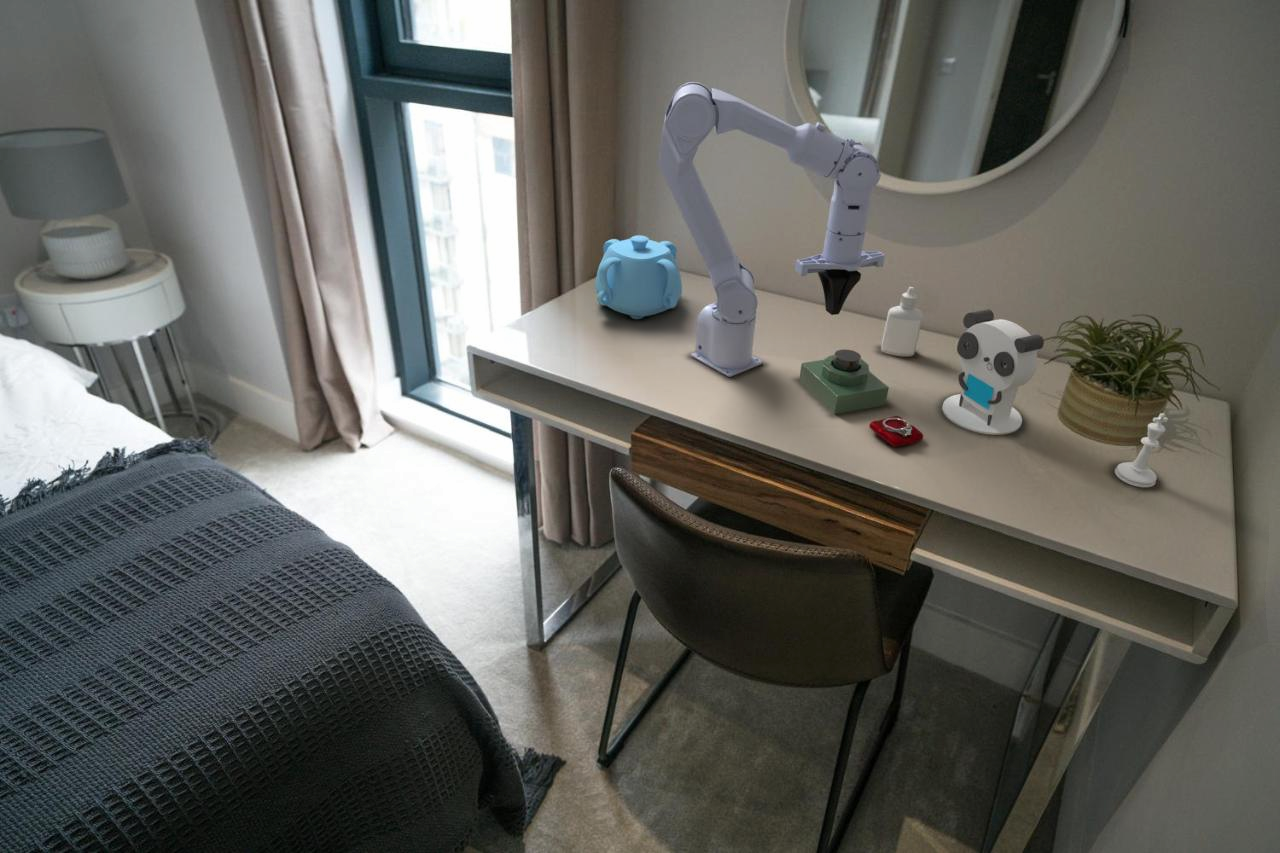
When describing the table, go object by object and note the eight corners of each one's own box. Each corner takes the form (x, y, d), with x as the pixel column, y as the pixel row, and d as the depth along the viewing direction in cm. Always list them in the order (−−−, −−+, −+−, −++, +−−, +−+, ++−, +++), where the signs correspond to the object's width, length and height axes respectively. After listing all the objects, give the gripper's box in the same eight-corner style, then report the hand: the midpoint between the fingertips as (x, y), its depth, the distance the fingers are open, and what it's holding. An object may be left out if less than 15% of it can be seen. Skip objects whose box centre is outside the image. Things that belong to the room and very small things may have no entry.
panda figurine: (923, 401, 123) (945, 313, 114) (979, 388, 126) (1004, 301, 118) (979, 441, 113) (1007, 348, 105) (1038, 425, 117) (1069, 334, 109)
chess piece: (1107, 466, 109) (1133, 404, 103) (1140, 465, 109) (1168, 403, 104) (1128, 488, 105) (1156, 425, 99) (1163, 487, 105) (1193, 423, 100)
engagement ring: (893, 452, 111) (897, 435, 109) (865, 431, 115) (868, 415, 113) (924, 442, 113) (928, 426, 111) (895, 422, 117) (899, 406, 116)
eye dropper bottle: (905, 361, 134) (920, 296, 127) (876, 350, 137) (889, 286, 130) (918, 353, 136) (933, 288, 130) (888, 342, 140) (902, 279, 133)
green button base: (798, 380, 128) (802, 352, 125) (847, 372, 130) (852, 345, 127) (834, 414, 119) (839, 385, 116) (885, 405, 121) (891, 377, 119)
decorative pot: (587, 320, 145) (585, 249, 138) (604, 286, 159) (604, 220, 151) (674, 328, 143) (678, 256, 136) (684, 293, 157) (688, 226, 149)
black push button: (827, 362, 123) (829, 351, 122) (849, 359, 124) (852, 347, 123) (841, 374, 120) (843, 362, 119) (863, 371, 121) (866, 359, 120)
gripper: (816, 242, 114) (804, 328, 121) (902, 233, 118) (885, 316, 125) (793, 227, 119) (783, 309, 127) (876, 219, 123) (861, 299, 131)
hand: (832, 312), depth 126 cm, fingers closed
